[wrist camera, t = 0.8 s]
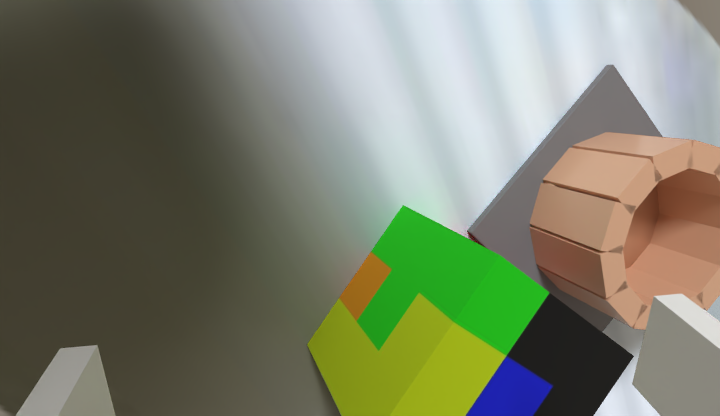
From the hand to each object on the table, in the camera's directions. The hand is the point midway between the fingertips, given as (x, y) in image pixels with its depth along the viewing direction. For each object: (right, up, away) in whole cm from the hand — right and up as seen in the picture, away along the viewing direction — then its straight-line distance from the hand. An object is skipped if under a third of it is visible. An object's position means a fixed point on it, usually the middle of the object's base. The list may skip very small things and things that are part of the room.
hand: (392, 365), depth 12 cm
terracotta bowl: (+16, +3, +22) cm, 27 cm away
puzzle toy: (+3, -3, +20) cm, 20 cm away
